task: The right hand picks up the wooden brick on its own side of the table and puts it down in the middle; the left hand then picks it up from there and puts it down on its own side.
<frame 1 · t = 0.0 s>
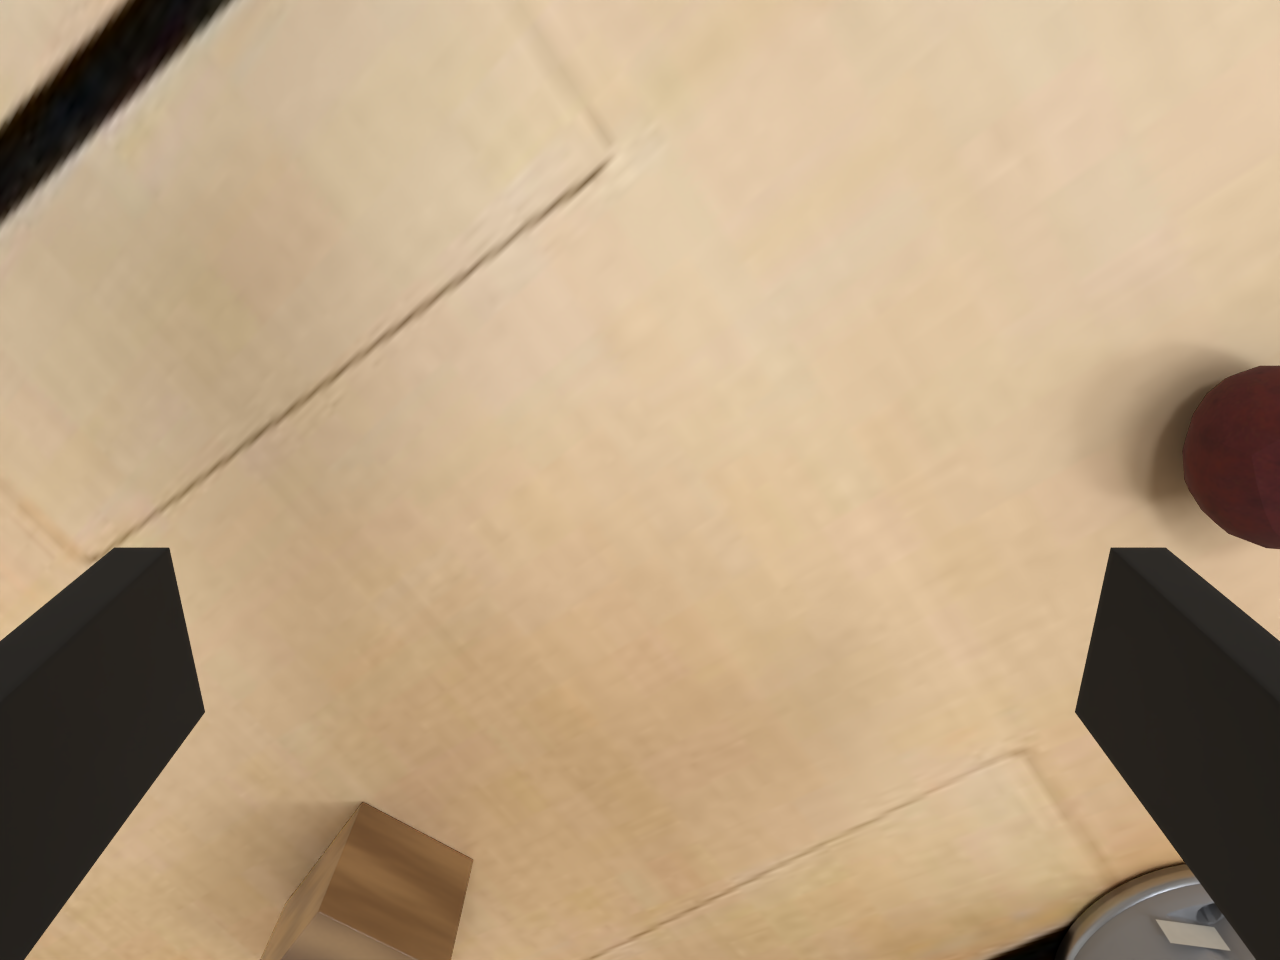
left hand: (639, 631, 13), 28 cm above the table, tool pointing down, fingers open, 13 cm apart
dark maroon ball: (1228, 426, 41), on the table
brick: (378, 881, 51), on the table
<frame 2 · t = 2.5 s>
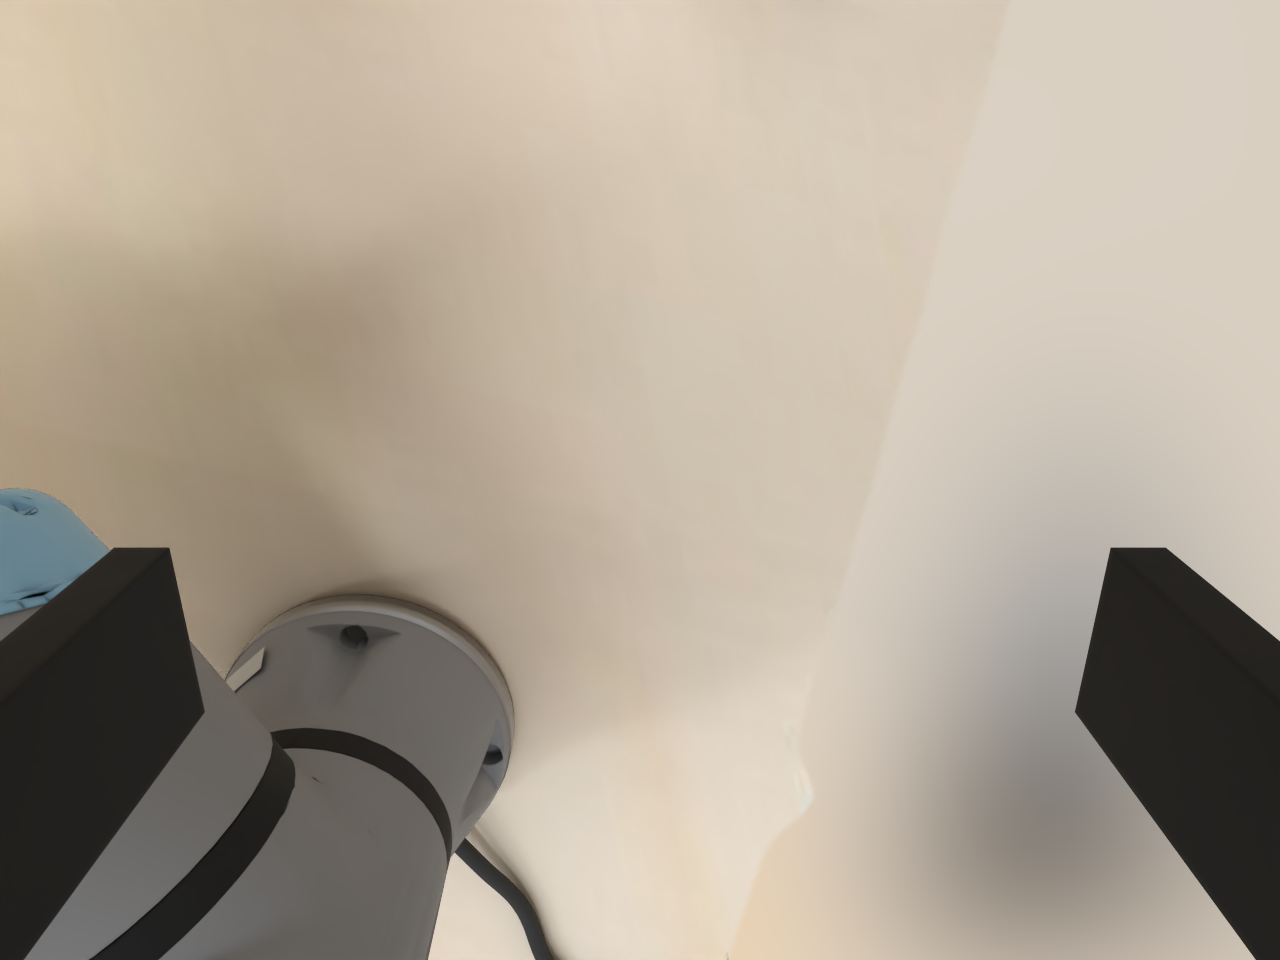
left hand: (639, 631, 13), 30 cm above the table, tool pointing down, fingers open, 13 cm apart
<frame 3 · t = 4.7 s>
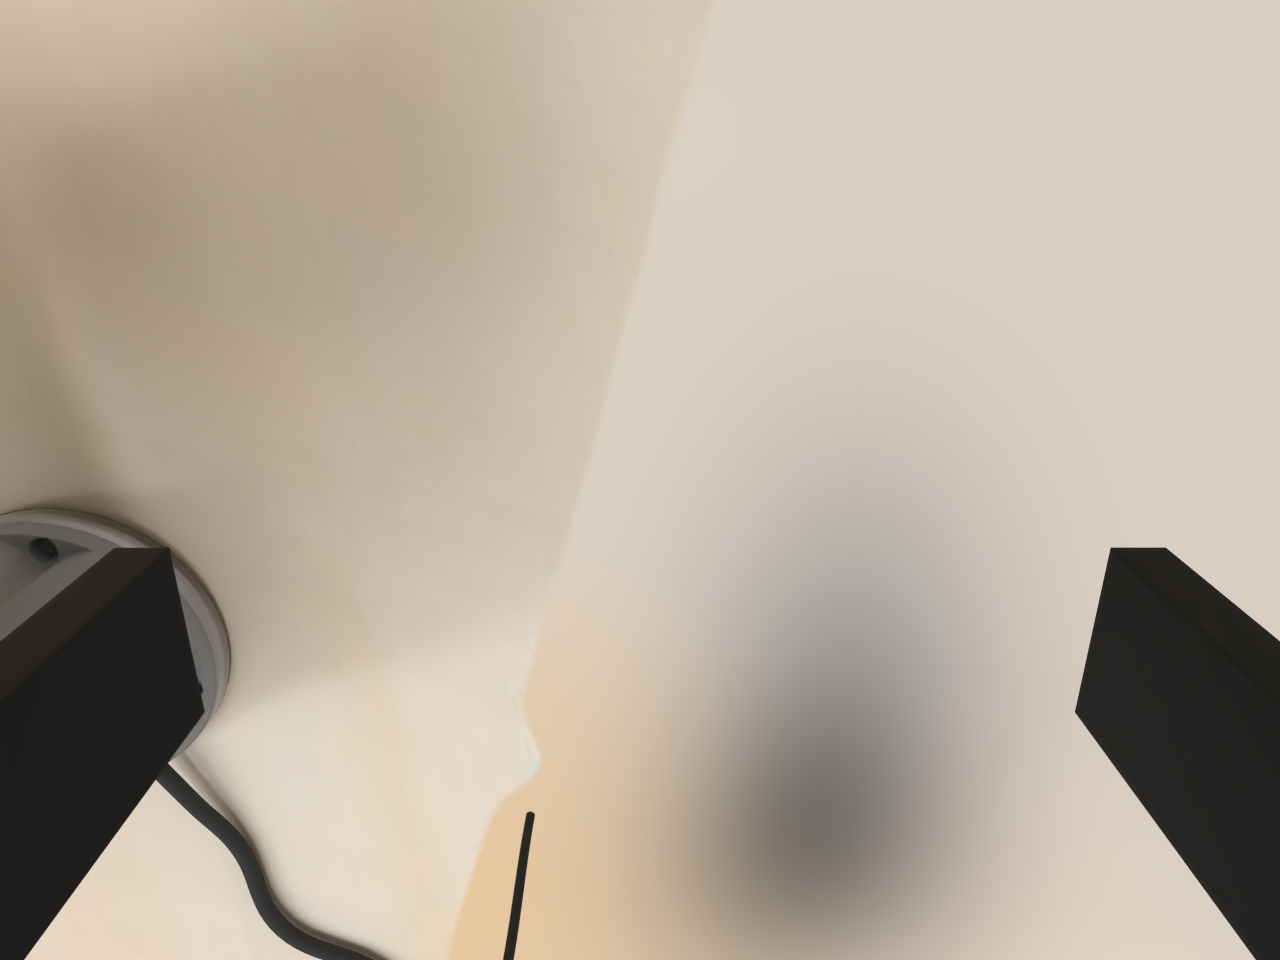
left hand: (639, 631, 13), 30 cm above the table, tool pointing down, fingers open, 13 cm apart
when the right hand's fingers open (2 cm above the table, at t = 6.9 s): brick drops 2 cm, on the table.
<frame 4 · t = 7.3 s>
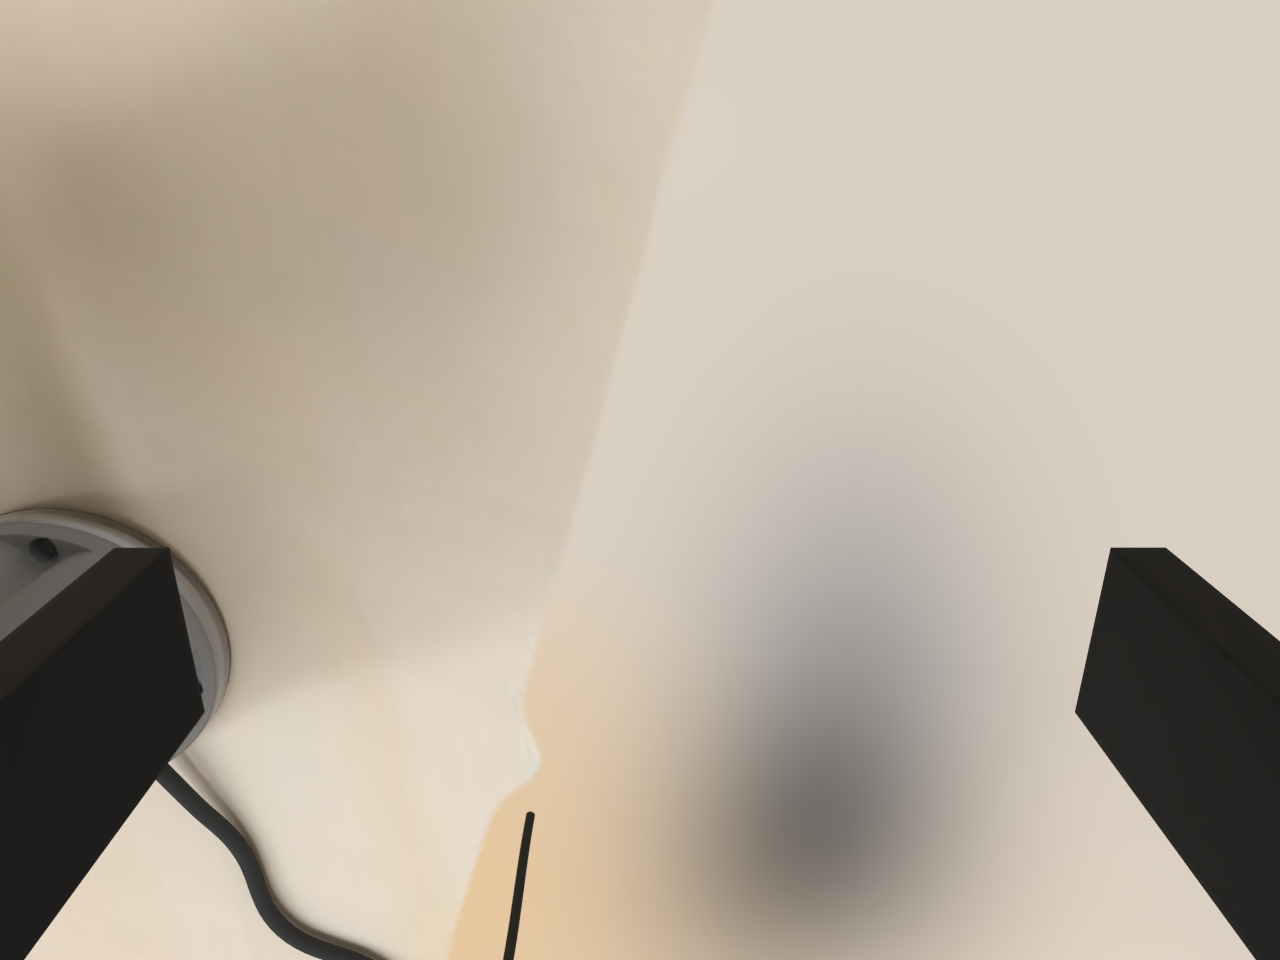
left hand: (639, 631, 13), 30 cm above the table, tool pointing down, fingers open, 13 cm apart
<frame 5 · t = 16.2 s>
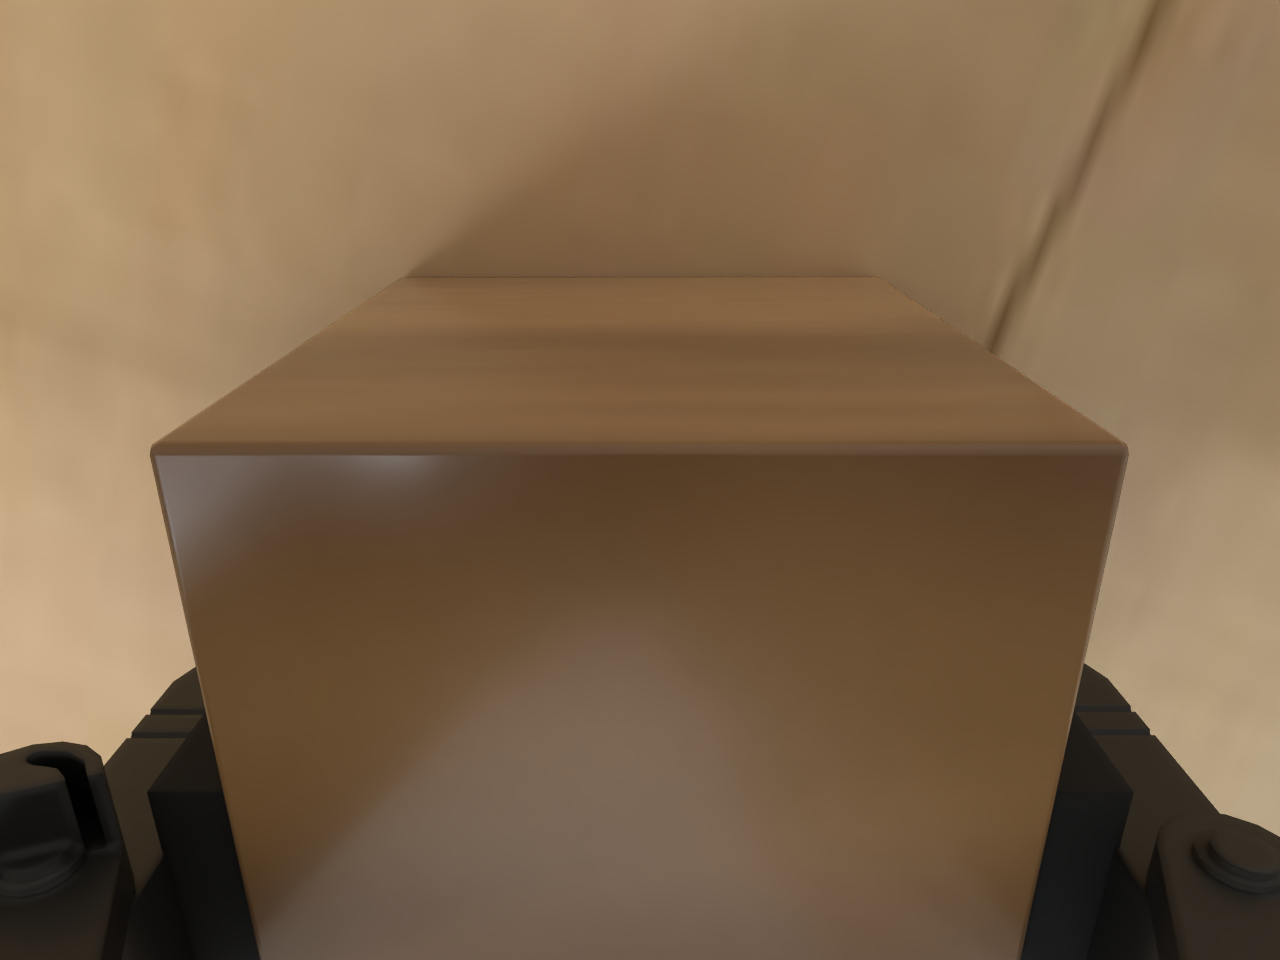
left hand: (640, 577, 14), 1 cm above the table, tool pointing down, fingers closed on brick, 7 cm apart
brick: (640, 554, 15), on the table, touching left hand
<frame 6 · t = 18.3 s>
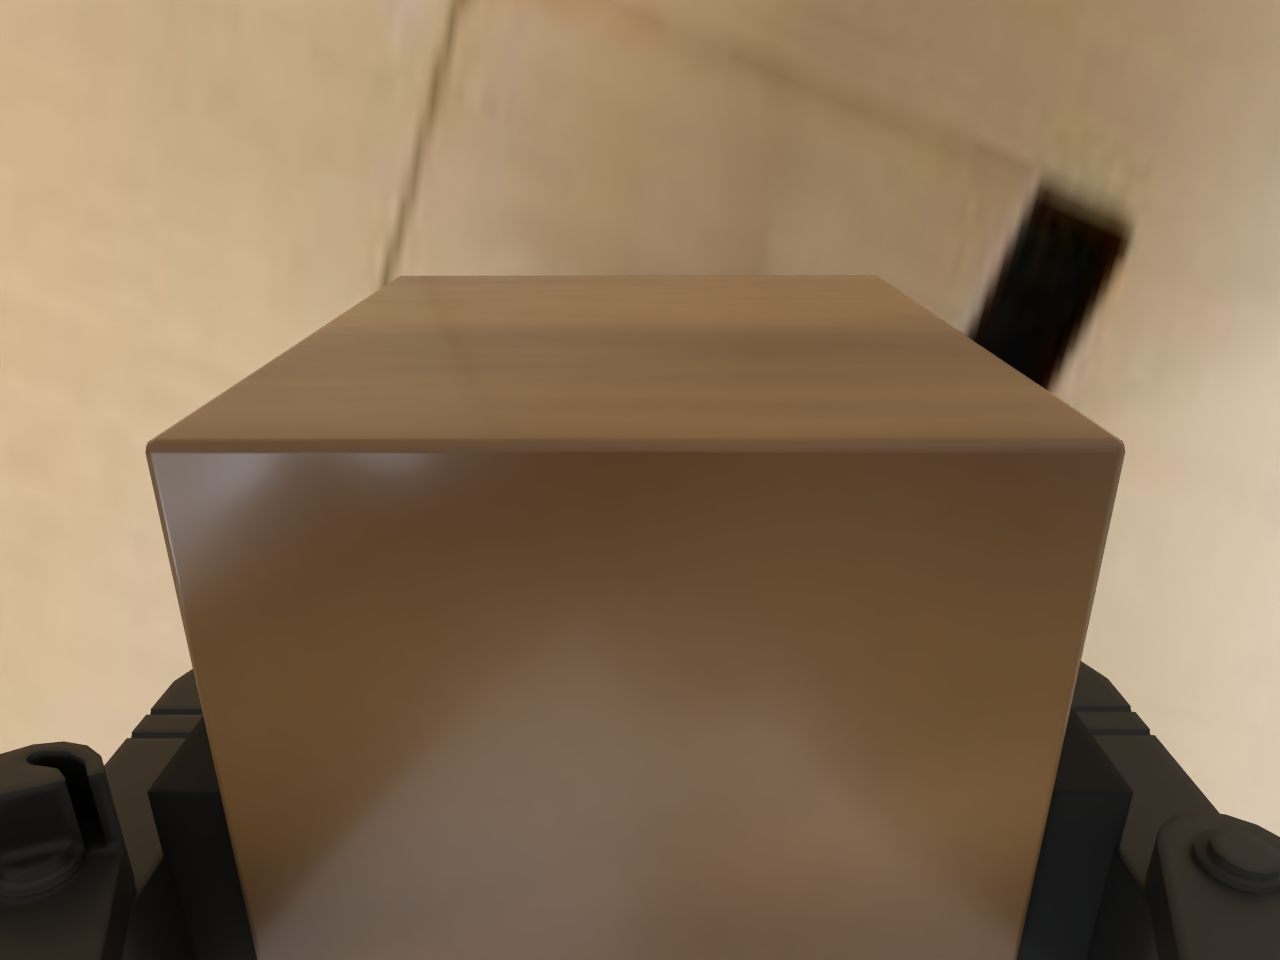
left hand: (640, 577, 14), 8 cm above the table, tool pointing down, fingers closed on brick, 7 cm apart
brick: (638, 553, 15), point 7 cm above the table, touching left hand
when the left hand's fingers open (2 cm above the table, at t = 20.4 s): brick drops 2 cm, on the table.
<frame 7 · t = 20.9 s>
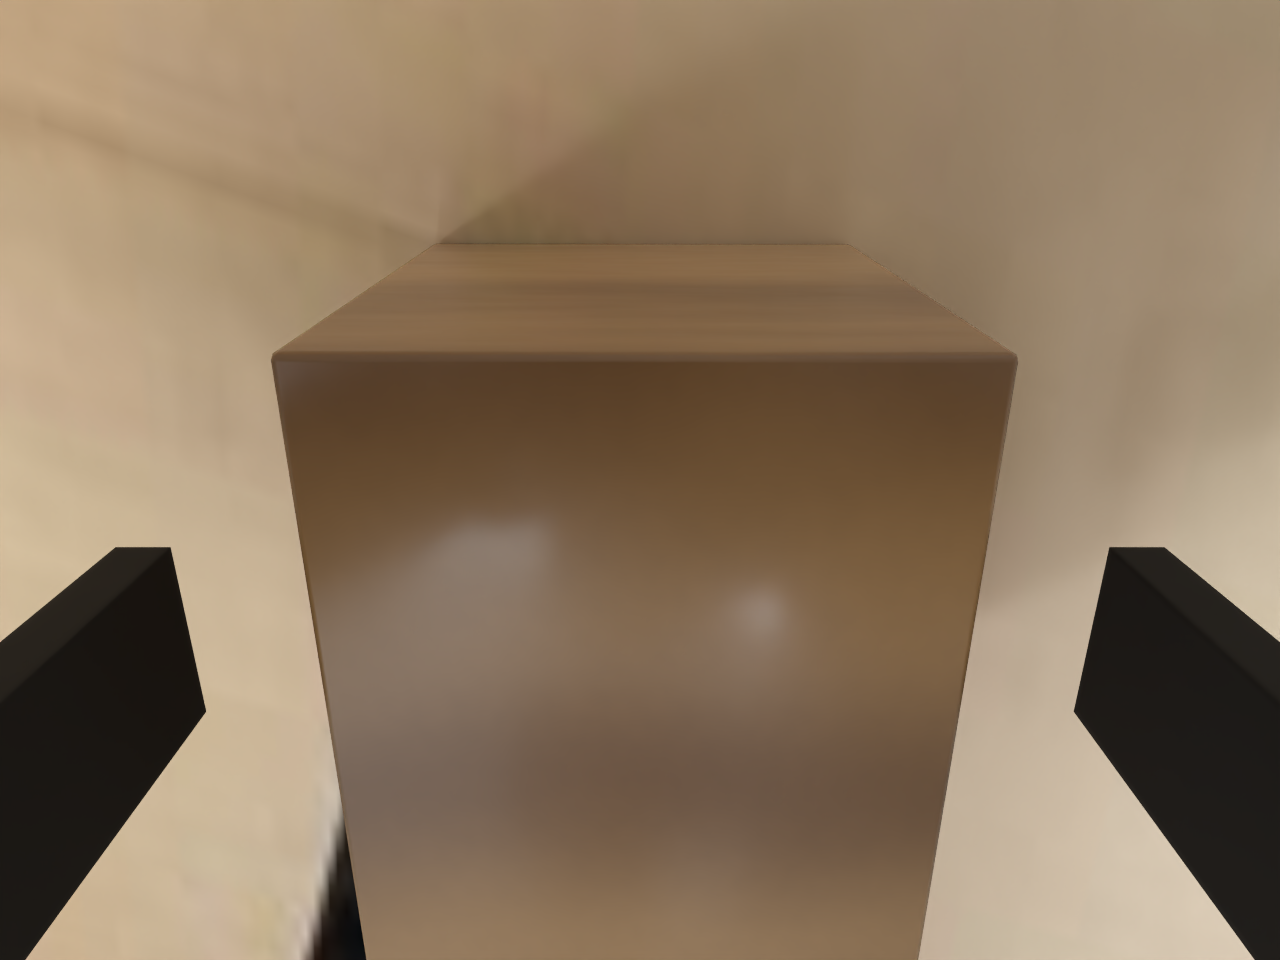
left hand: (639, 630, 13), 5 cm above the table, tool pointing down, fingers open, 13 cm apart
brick: (641, 491, 17), on the table
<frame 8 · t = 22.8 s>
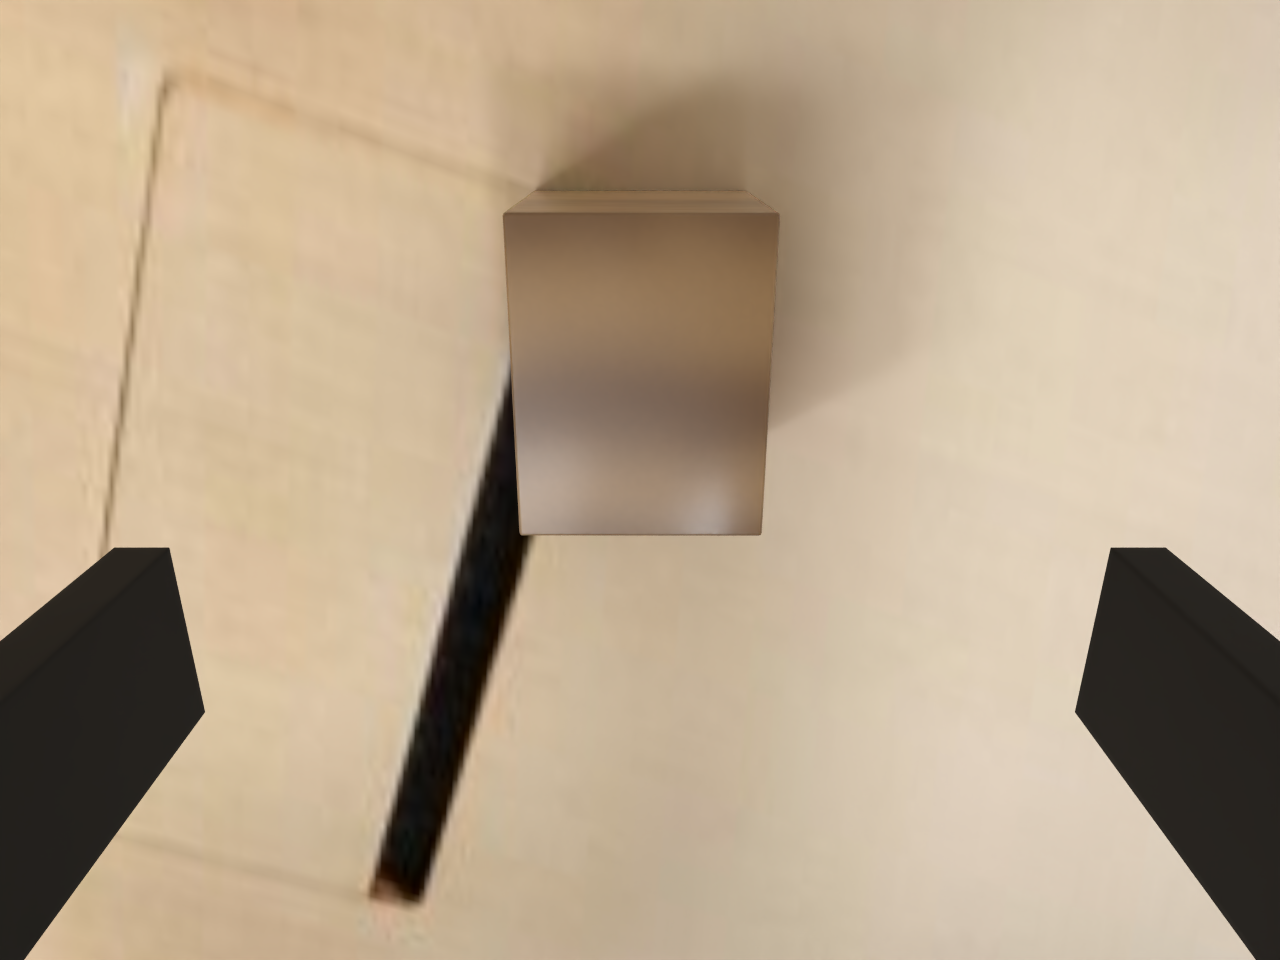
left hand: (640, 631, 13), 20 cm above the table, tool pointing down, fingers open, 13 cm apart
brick: (640, 327, 32), on the table
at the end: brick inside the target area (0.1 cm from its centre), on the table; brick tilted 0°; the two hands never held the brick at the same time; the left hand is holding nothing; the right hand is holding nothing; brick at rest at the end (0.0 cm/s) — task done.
